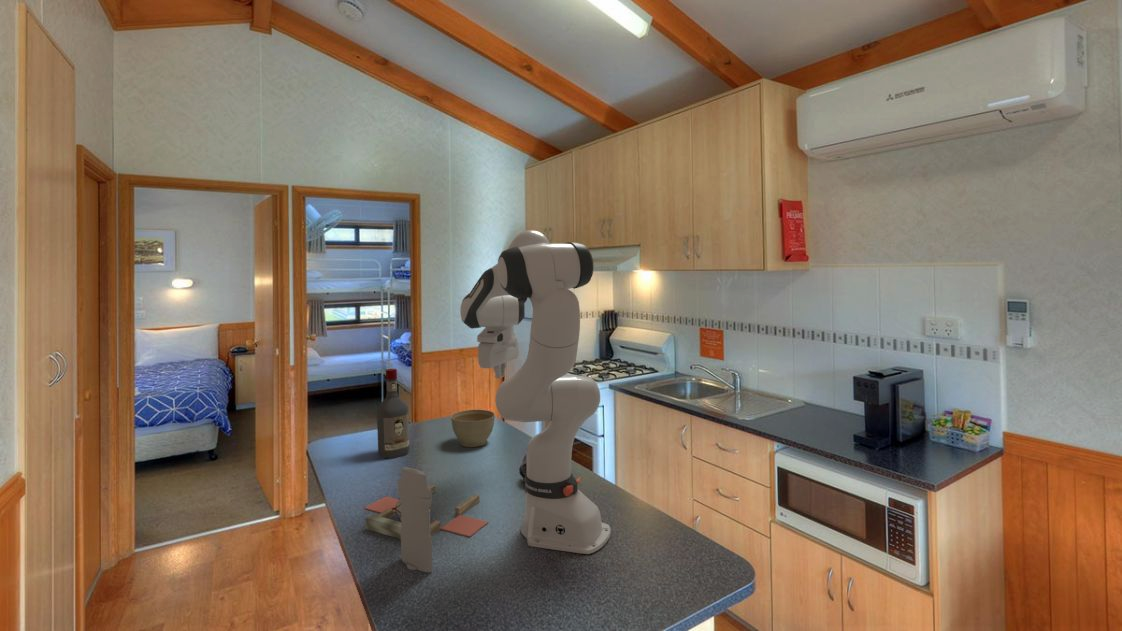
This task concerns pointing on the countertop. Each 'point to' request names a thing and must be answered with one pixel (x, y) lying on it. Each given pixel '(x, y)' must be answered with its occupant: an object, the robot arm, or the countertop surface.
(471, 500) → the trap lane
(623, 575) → the countertop surface
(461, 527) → the mats
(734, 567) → the countertop surface
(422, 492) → the tall pale column
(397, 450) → the liquor
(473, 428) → the planter bowl
